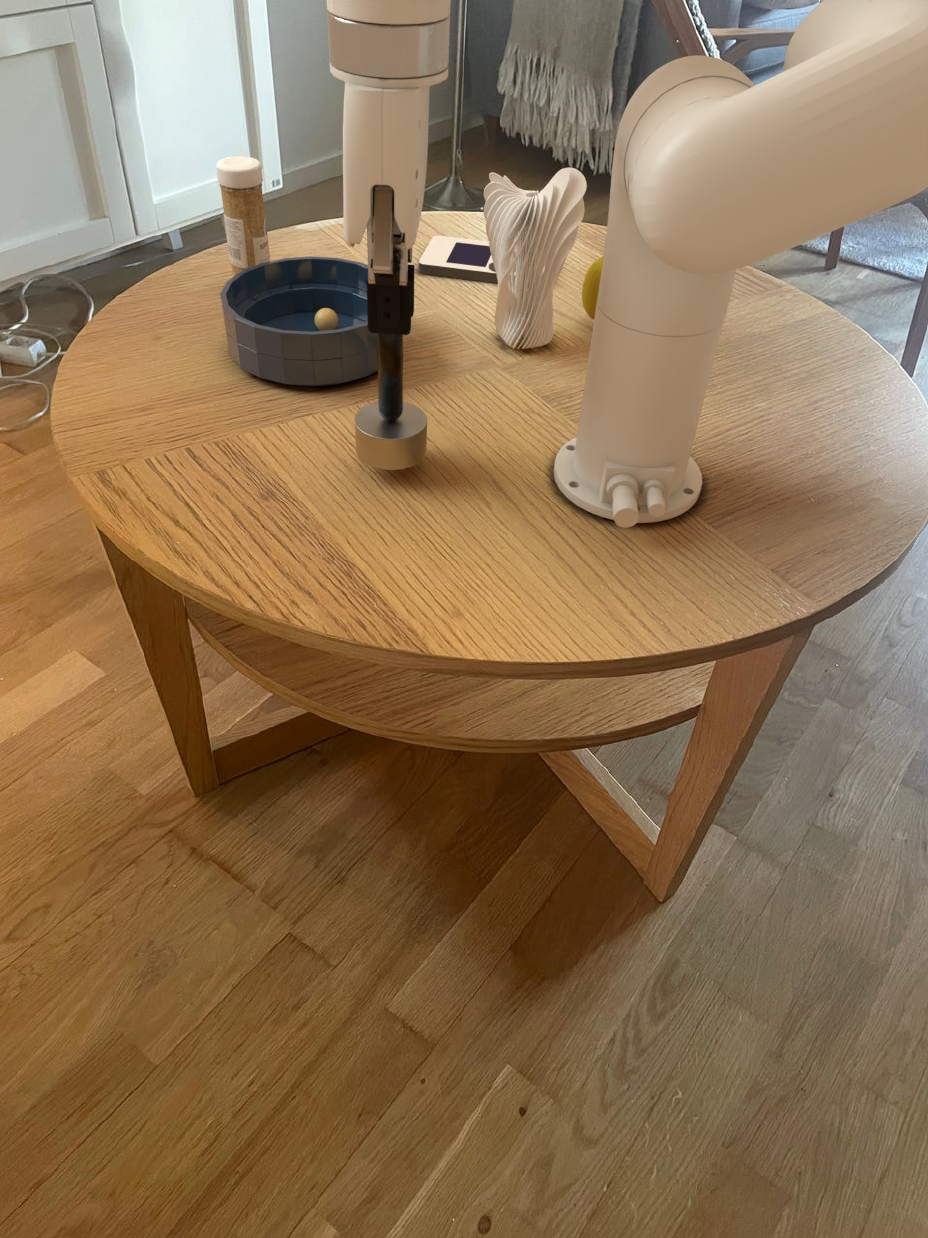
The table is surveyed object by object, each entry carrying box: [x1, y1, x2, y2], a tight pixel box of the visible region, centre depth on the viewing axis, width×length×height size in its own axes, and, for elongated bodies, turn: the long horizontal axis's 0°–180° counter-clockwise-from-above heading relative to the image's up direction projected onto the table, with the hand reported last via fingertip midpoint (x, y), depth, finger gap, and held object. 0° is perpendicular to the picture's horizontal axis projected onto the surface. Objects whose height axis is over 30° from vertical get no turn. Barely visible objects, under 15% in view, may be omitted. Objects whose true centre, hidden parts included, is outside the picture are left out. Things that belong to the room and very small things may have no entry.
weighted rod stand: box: [353, 252, 428, 471], centre depth 72 cm, size 6×6×17 cm
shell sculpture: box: [483, 167, 588, 350], centre depth 90 cm, size 8×8×18 cm
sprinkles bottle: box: [215, 155, 271, 277], centre depth 99 cm, size 5×5×13 cm
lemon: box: [581, 255, 604, 321], centre depth 98 cm, size 6×6×8 cm
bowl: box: [219, 255, 378, 387], centre depth 92 cm, size 17×17×6 cm
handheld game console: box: [418, 235, 545, 286], centre depth 110 cm, size 9×15×1 cm, turn 79°
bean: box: [315, 308, 338, 331], centre depth 94 cm, size 2×2×2 cm
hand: (391, 322), depth 70 cm, fingers closed on weighted rod stand
